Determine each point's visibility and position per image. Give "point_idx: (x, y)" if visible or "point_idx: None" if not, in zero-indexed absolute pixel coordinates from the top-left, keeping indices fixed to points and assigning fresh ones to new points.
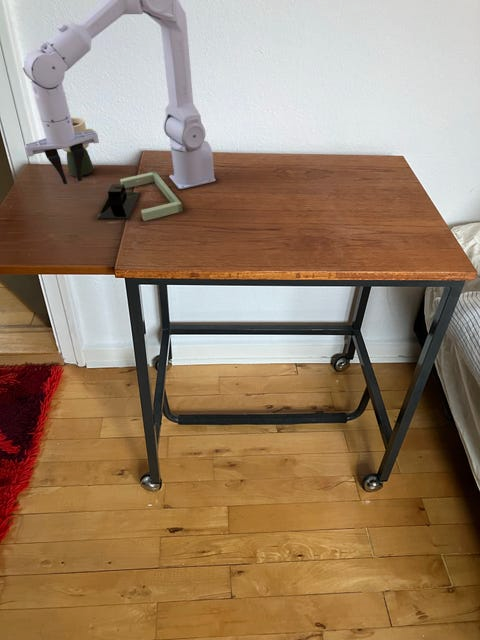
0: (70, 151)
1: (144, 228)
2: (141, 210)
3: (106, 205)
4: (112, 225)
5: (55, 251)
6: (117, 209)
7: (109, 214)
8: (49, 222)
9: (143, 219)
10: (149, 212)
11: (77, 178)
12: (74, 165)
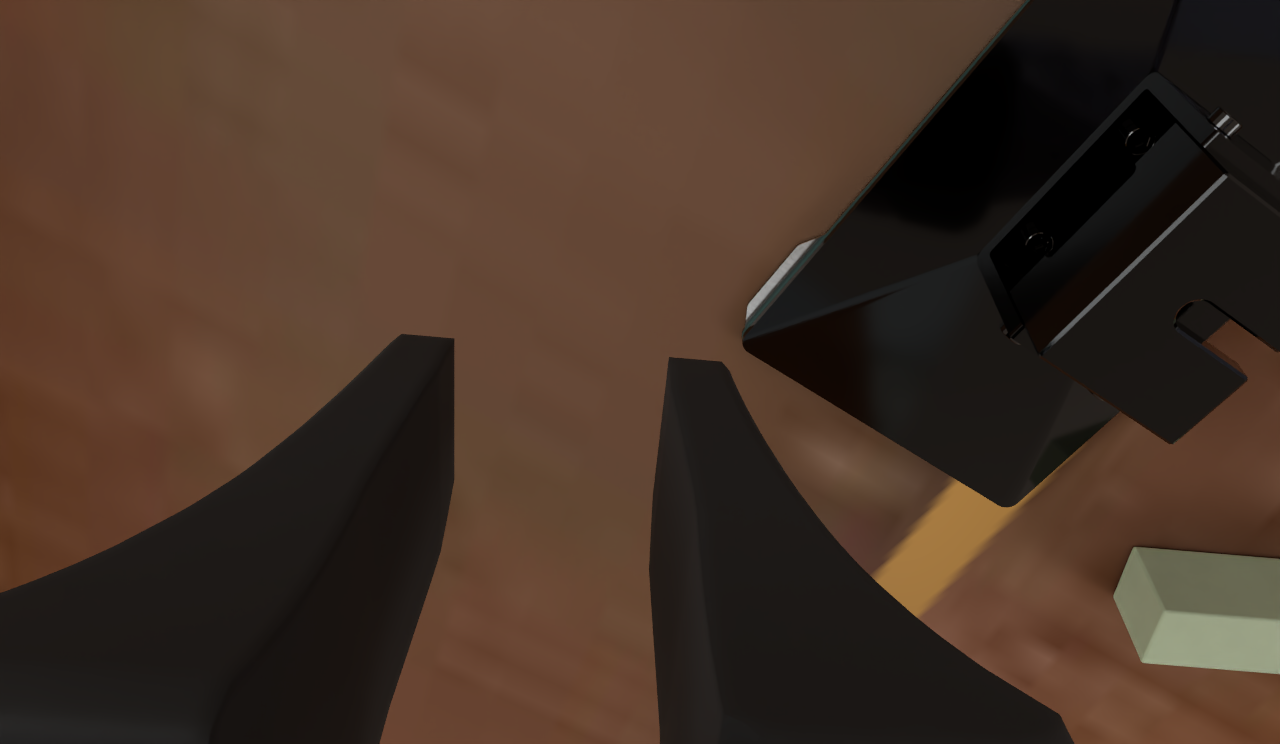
0: (707, 650)
1: (1036, 684)
2: (1163, 622)
3: (962, 149)
4: (820, 512)
5: None
6: (1010, 346)
7: (884, 369)
8: (198, 91)
9: (1121, 583)
10: (1205, 662)
11: (658, 465)
12: (682, 537)
